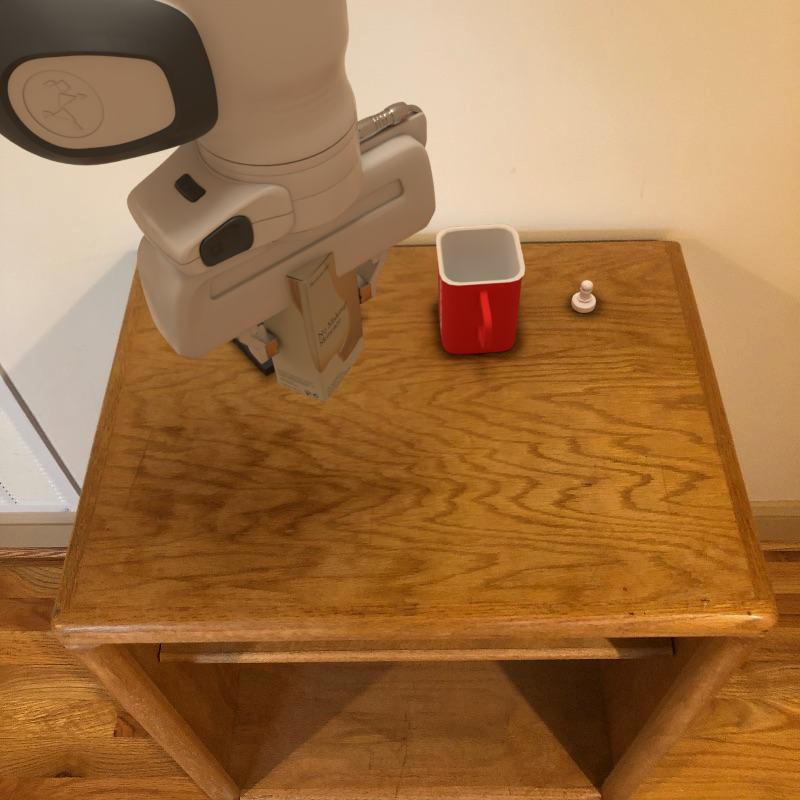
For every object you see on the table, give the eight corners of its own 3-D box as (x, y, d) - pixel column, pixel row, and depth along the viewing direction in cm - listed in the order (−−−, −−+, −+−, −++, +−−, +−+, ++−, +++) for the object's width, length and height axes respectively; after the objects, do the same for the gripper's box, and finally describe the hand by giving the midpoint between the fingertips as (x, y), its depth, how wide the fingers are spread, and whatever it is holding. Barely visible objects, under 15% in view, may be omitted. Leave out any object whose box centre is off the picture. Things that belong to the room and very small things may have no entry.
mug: (435, 301, 87) (434, 228, 79) (509, 296, 87) (516, 222, 79) (444, 386, 80) (443, 315, 72) (524, 380, 80) (533, 309, 72)
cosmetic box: (326, 406, 57) (303, 286, 47) (276, 385, 58) (243, 265, 49) (368, 345, 60) (355, 222, 51) (320, 327, 62) (298, 204, 52)
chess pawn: (566, 301, 86) (570, 278, 84) (586, 293, 87) (590, 270, 84) (579, 316, 85) (584, 294, 82) (599, 308, 86) (604, 285, 83)
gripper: (392, 69, 50) (400, 236, 61) (98, 210, 42) (168, 369, 54) (457, 113, 47) (454, 279, 58) (153, 272, 39) (215, 427, 51)
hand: (314, 324), depth 56 cm, fingers closed on cosmetic box, 7 cm apart
